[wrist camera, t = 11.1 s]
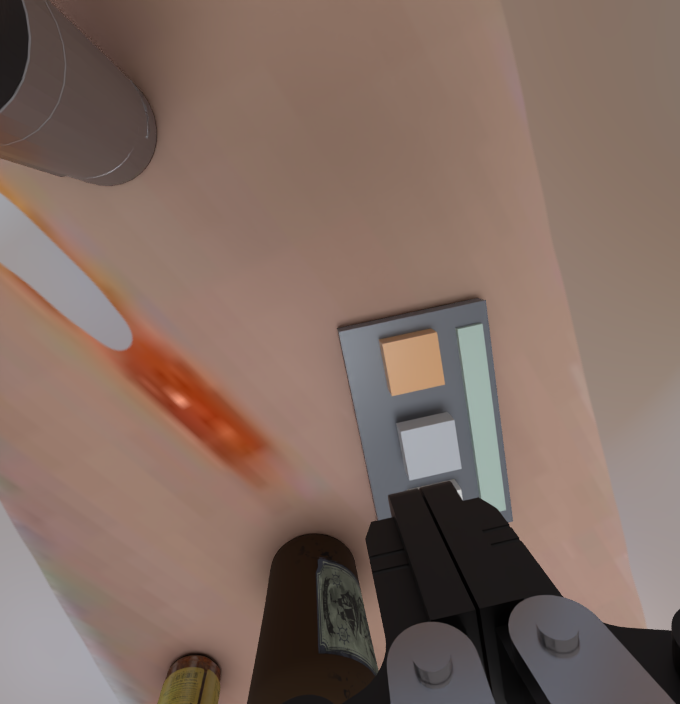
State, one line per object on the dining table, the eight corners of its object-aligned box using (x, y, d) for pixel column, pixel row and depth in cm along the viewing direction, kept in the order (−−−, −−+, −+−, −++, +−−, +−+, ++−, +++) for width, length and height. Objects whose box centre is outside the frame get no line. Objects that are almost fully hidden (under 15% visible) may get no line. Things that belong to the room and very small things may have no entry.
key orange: (388, 389, 41) (392, 396, 39) (378, 339, 40) (382, 344, 38) (438, 378, 41) (445, 384, 39) (430, 328, 40) (437, 332, 38)
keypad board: (381, 538, 47) (385, 554, 45) (337, 328, 41) (339, 333, 39) (504, 510, 47) (515, 524, 45) (477, 298, 42) (488, 300, 39)
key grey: (404, 469, 42) (409, 480, 40) (396, 423, 41) (400, 431, 39) (454, 458, 42) (461, 468, 40) (447, 411, 41) (454, 419, 39)
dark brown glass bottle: (312, 626, 49) (318, 992, 25) (244, 572, 47) (177, 917, 23) (380, 567, 48) (456, 890, 24) (314, 509, 46) (322, 801, 21)
